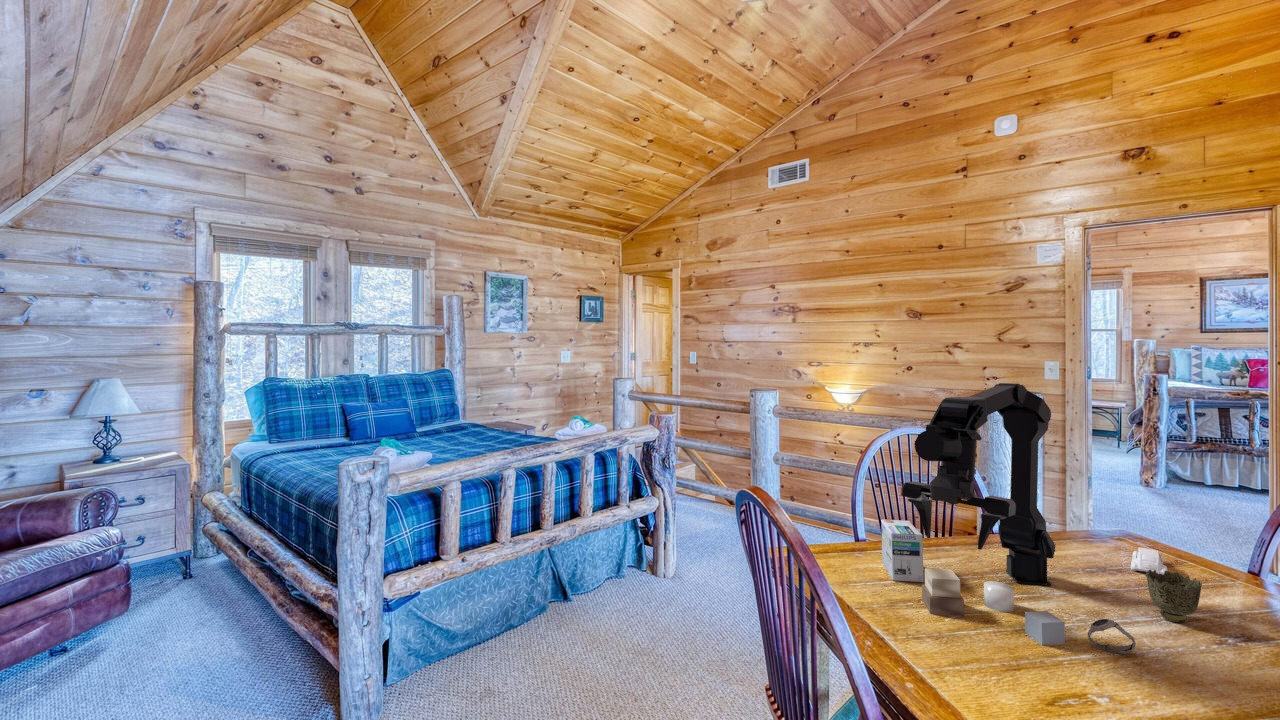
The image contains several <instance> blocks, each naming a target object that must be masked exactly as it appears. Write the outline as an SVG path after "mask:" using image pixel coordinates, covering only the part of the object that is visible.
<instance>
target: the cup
mask: <svg viewBox="0 0 1280 720" xmlns="http://www.w3.org/2000/svg"><path fill="white" fill-rule="evenodd" d="M1145 575H1146V581H1147V585H1148V586H1147V587H1148V592H1149V596H1150V601H1152V603H1153V605H1154V606H1156V607H1157V608H1158V609H1160V610H1159V613H1160V615H1161V617H1162V618H1163V619H1165V620H1167V621H1169V622H1172V623H1176V624H1183V623H1186V622H1187V621H1188V616H1189V615H1192V614H1193V613H1195V612H1196V611H1197V609H1198V606H1199V603H1200V598H1201V591H1202V590H1201V589H1202V586H1203V583H1202V582H1201V581H1200V580H1198V579H1197V578H1193V579H1192V580H1191V578H1190V576H1189V575H1186V576H1185V577H1184V576H1183V574H1181V573H1179V572H1178V571H1174V572H1170V571H1165V572H1164V574H1163V575H1162V574H1157V573H1156V570H1154V571H1151V570H1149V571H1148V572H1145Z"/></svg>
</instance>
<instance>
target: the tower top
mask: <svg viewBox="0 0 1280 720" xmlns="http://www.w3.org/2000/svg"><path fill="white" fill-rule="evenodd" d="M924 584H925V586H926V587H927V589H928V590H929V592H930V594H931V595H932V596H938V597H952V598H960V595H961V579H960V578H959V577H958V576H957V574H955V572H954V571H953V570H952V569H945V568H944V569H943V568H942V569H941V568H926V567H925V568H924Z"/></svg>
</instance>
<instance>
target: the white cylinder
mask: <svg viewBox="0 0 1280 720" xmlns="http://www.w3.org/2000/svg"><path fill="white" fill-rule="evenodd" d="M983 605H984V606H985V607H987V608H988V609H990V610H993V611H998V612H1002V613H1011V612H1013V611H1015V591H1014V587H1013V586H1011V585H1009V584H1007V583H1005V582H1001V581H997V580H996V581H994V580H989V581H985V582H983Z"/></svg>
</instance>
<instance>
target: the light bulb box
mask: <svg viewBox="0 0 1280 720" xmlns="http://www.w3.org/2000/svg"><path fill="white" fill-rule="evenodd" d="M880 521H881V523H880V524H881V527H880V529H881V562H882V564H883V566H884V568H885V570H886V572H887V573H888V575H889V577H890V578H891V580H892V581H897V582H898V581H901V582H916V583H925V574H924V547H923V546H924V544H923V543H924V541H923V539H924V538H923V537H924V535H923V534H922V533H921V532H920V531H919V530H918V529H917V528H916V527H915V526H914V524H913V523H912V522H911V521H910V520H899V519H898V520H897V519H881V520H880Z"/></svg>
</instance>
